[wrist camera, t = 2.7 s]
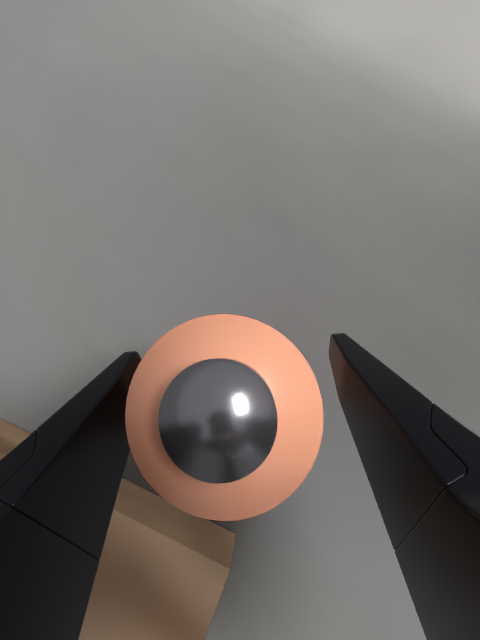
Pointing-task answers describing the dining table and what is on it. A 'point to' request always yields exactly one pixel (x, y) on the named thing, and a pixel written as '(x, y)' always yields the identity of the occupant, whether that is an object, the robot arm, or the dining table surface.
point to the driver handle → (224, 417)
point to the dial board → (151, 567)
